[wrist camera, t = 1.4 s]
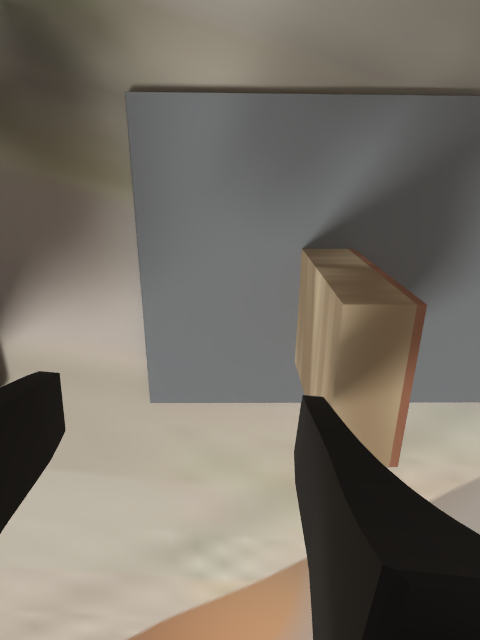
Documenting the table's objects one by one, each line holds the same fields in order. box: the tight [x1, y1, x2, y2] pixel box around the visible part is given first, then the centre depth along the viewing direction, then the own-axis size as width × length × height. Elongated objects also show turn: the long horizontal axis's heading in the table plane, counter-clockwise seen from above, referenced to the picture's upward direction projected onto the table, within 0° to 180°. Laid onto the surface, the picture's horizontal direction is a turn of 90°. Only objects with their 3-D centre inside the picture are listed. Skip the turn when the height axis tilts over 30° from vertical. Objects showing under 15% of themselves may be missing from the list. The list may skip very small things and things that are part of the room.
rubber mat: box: [125, 92, 480, 403], centre depth 20 cm, size 20×15×1 cm
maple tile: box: [295, 249, 427, 467], centre depth 17 cm, size 2×6×8 cm, turn 179°
